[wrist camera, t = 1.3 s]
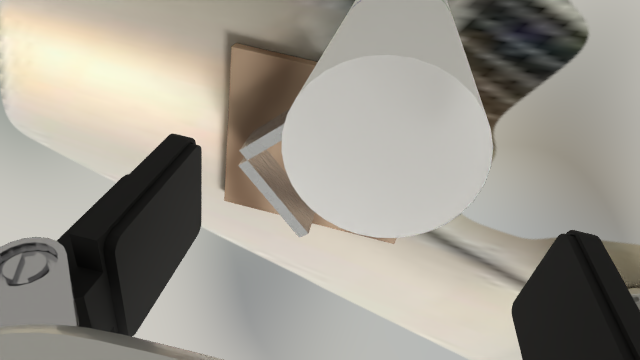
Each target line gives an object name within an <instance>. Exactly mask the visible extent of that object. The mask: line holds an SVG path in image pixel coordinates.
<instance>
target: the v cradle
mask: <svg viewBox="0 0 640 360" xmlns="http://www.w3.org/2000/svg"><path fill="white" fill-rule="evenodd" d="M317 63H318V62H316V61H312V60H307V59H303V58H299V57H294V56H290V55H286V54H281V53H277V52H273V51H268V50H264V49H260V48H255V47H251V46H247V45H242V44H238V43H236V44H234V45H233V46H232V47H231V68H230V90H229V111H228V132H227V154H226V175H225V197H224V201H227V202H231V203H235V204H239V205H243V206H247V207H251V208H255V209H259V210H263V211H267V212H271V213H275V214H278V215H281V217H282V218H283V219H284V220H285V221H286V222H287V224H288V225H289V226H290V227H291V228H292V230H293V231H294V232H295V233H296V234H297V235H298V237H302V236H304V235H306V234H308V233H309V230H310V227H311V224H312V223H314V224H318V225H322V226H326V227H330V228H333V229H337V230H341V231H345V232H349V233H353V232H350V231H347V230H345V229H342V228H339V227H338V226H336V225H334V224H332V223H330V222H328V221H327V220H325V219H323V218H322V217H321V216H319V215H318V214H317V213H316V212H314V211H313V210H312V209H311V208H310V207H309V206H308V205H307V204H306V203H305V202H304V201H303V200H302V199H301V198H300V196H299V195H298V193H297V192H296V190H295V189H294V187H293V186H292V184H291V182H290V180H289V177H288V175H287V172H286V170H285V167H284V162H283V156H282V151H281V150H282V131H283V128H284V124H285V120H286V117H287V114H288V112H289V110H290V108H291V106H292V105H293V103H294V101H295V99H296V97H297V96H298V94H299V92H300V91H301V89H302V87H303V86H304V84H305V82H306V81H307V79H308V77H309V76H310V74H311V73H312V71H313V69H314V68H315V66H316V64H317ZM353 234H356V233H353ZM357 235H359V234H357ZM361 236H365V235H361ZM365 237H369V238H373V239H377V240H381V241H384V242H388V243H392V244H394V243H395V240H396V238H376V237H370V236H365Z"/></svg>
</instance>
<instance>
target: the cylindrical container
mask: <svg viewBox="0 0 640 360" xmlns="http://www.w3.org/2000/svg"><path fill="white" fill-rule="evenodd" d="M281 151H282V156H283V162H284V167H285V170H286V172H287V175H288V177H289V180H290V182H291V184H292V186H293V187H294V189H295V190H296V192H297V193H298V195H299V196H300V198H301V199H302V200H303V201H304V202H305V203H306V204H307V205H308V206H309V207H310V208H311V209H312V210H313V211H314V212H316V213H317V214H318V215H319V216H321V217H322V218H323V219H325V220H327V221H328V222H330V223H332V224H334V225H336V226H338V227H339V228H342V229H345V230H347V231H350V232H353V233H356V234H359V235H365V236H370V237H376V238H401V237H409V236H415V235H418V234H422V233H426V232H429V231H432V230H434V229H436V228H438V227H440V226H443V225H445V224H447V223H448V222H449V221H451V220H452V219H454V218H455V217H457V216H458V215H460V214H461V213H462V212H463V211H464V210H465V209H466V208H467V207H468V206H469V205H470V204H471V203H472V202H473V201H474V200H475V198H476V197H477V195H478V194H479V192H480V190H481V189H482V187H483V186H484V184H485V182H486V179H487V176H488V173H489V171H490V168H491V162H492V153H493V142H492V135H491V128H490V125H489V122H488V119H487V116H486V113H485V110H484V107H483V104H482V101H481V98H480V95H479V93H478V90H477V87H476V84H475V81H474V78H473V75H472V72H471V69H470V66H469V63H468V60H467V57H466V54H465V51H464V48H463V45H462V42H461V39H460V37H459V34H458V31H457V28H456V25H455V22H454V19H453V16H452V13H451V10H450V7H449V4H448V1H447V0H355V2H354V3H353V5H352V7H351V8H350V10H349V12H348V13H347V15H346V17H345V18H344V20H343V21H342V23H341V25H340V26H339V28H338V30H337V31H336V33H335V35H334V36H333V38H332V40H331V41H330V43H329V45H328V46H327V48H326V49H325V51H324V53H323V54H322V56H321V58H320V59H319V61H318V63H317V64H316V66H315V68H314V69H313V71H312V73H311V74H310V76H309V77H308V79H307V81H306V82H305V84H304V86H303V87H302V89H301V91H300V92H299V94H298V96H297V97H296V99H295V101H294V103H293V105H292V106H291V108H290V110H289V112H288V114H287V117H286V120H285V124H284V128H283V131H282V150H281Z"/></svg>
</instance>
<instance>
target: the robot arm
mask: <svg viewBox="0 0 640 360" xmlns="http://www.w3.org/2000/svg"><path fill="white" fill-rule="evenodd" d="M200 227H201V147H200V146H199V145H196V142H195V140H194V139H193V138H189V137H185V136H181V135H177V134H170V135H169V136H168V137H167V138H166V139H165V140H164V141H163V142H162V143H161V144H160V145H159V146H158V147H157V148H156V149H155V150H154V151H153V152H152V153H151V154H150V155H149V156H148V157H147V158H146V159H144V160H143V161H142V162H141V163H140V164H139V165H138V166H137V167H136V168H135V169H134V170H133V171H132V172H131V173H130V174H128V175H125V176H124V177H122V178H121V179H120V180H119V181H118V182H117V183H116V184H115V185H114V186H113V187H112V188H111V189H110V190H109V191H108V192H107V193H106V194H105V195H104V196H103V197H102V198H100V199H99V200H98V201H97V202H96V203H95V204H94V205H93V207H91V208H90V209H89V210H88V211H87V212H86V213H85V214H84V215H83V216H82V217H81V218H80V219H79V220H78V221H77V222H76V223H75V224H74V225H73V226H72V227H71V228H70V229H69V230H68V231H66V232H65V233H64V234H63V235H62V236H61V237H60V239H58V240H57V241H55V240H52V239H49V238H41V237H32V238H24V239H20V240H17V241H13V242H10V243H8V244H6V245H4V246H2V247H0V360H223V359H218V358H215V357H211V356H208V355H204V354H200V353H196V352H192V351H188V350H184V349H180V348H176V347H172V346H168V345H164V344H160V343H155V342H151V341H147V340H143V339H139V338H135V337H132V336H133V335H134V334H135V333H136V332H137V330H138V329H139V327H140V326H141V324H142V323H143V321H144V319H145V318H146V316H147V315H148V313H149V311H150V309H151V308H152V307H153V305H154V304H155V302H156V300H157V299H158V297H159V296H160V294H161V292H162V291H163V289H164V288H165V286H166V284H167V283H168V281H169V280H170V278H171V277H172V275H173V273H174V272H175V270H176V268H177V267H178V265H179V264H180V262H181V261H182V259H183V258H184V256H185V254H186V253H187V251H188V249H189V248H190V246H191V245H192V243H193V242H194V240H195V239H196V237H197V235H198V233H199V230H200ZM512 317H513V321H514V326H515V330H516V334H517V338H518V342H519V346H520V350H521V354H522V358H523V360H640V288H629V289H628V288H627V287H626V285H625V283H624V281H623V279H622V278H621V276H620V274H619V272H618V270H617V269H616V267H615V265H614V263H613V261H612V260H611V258H610V256H609V254H608V252H607V251H606V249H605V247H604V245H603V243H602V242H601V240H600V239H599V237H598V236H595V235H592V234H588V233H583V232H579V231H575V230H570V231H569V232H567V233H566V234H561V235H559V236H558V237H557V238H556V240H555V241H554V243H553V244H552V246H551V247H550V249H549V250H548V252H547V253H546V255H545V256H544V258H543V259H542V261H541V262H540V264H539V265H538V267H537V268H536V270H535V271H534V273H533V274H532V276H531V277H530V278H529V280H528V281H527V283H526V284H525V286H524V287H523V289H522V290H521V292H520V293H519V295H518V296H517V298H516V299H515V301H514V303H513V306H512Z"/></svg>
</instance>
